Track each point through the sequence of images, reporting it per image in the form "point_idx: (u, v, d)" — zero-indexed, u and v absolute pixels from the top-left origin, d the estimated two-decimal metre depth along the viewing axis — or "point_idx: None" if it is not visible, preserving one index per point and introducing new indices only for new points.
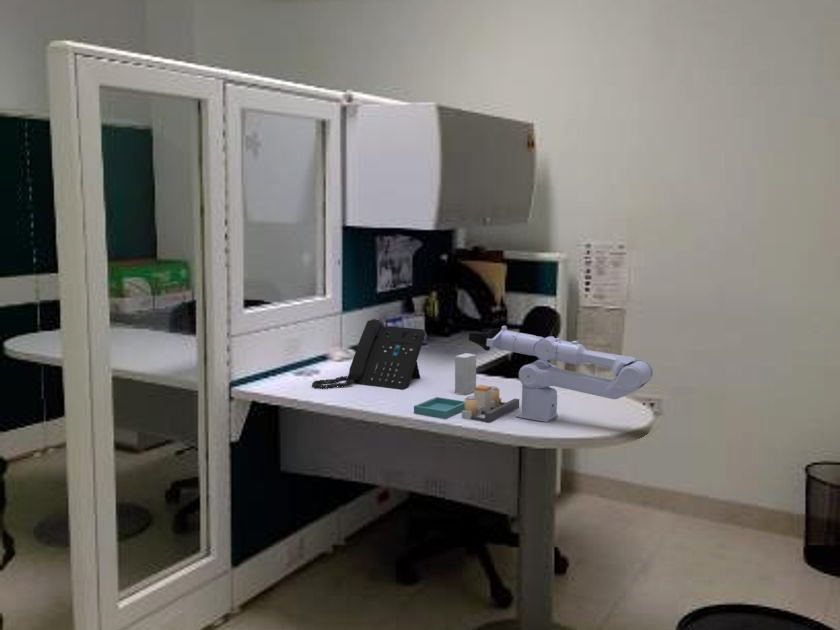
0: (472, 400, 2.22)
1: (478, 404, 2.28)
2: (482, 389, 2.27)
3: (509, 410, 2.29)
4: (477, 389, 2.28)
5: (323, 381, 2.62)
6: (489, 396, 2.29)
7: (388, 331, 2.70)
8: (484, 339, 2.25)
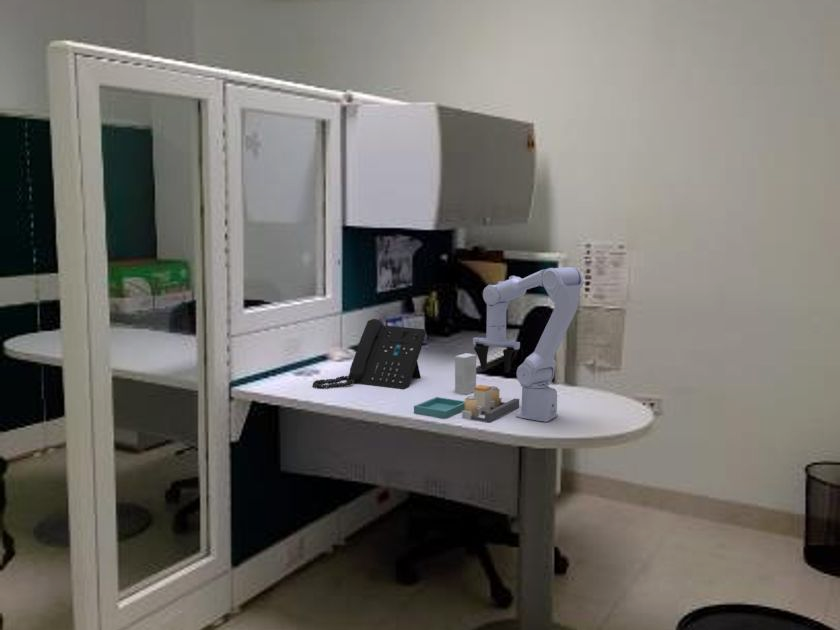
0: (472, 400, 2.22)
1: (478, 404, 2.28)
2: (482, 389, 2.27)
3: (509, 410, 2.29)
4: (477, 389, 2.28)
5: (324, 381, 2.62)
6: (489, 396, 2.29)
7: (388, 331, 2.70)
8: None
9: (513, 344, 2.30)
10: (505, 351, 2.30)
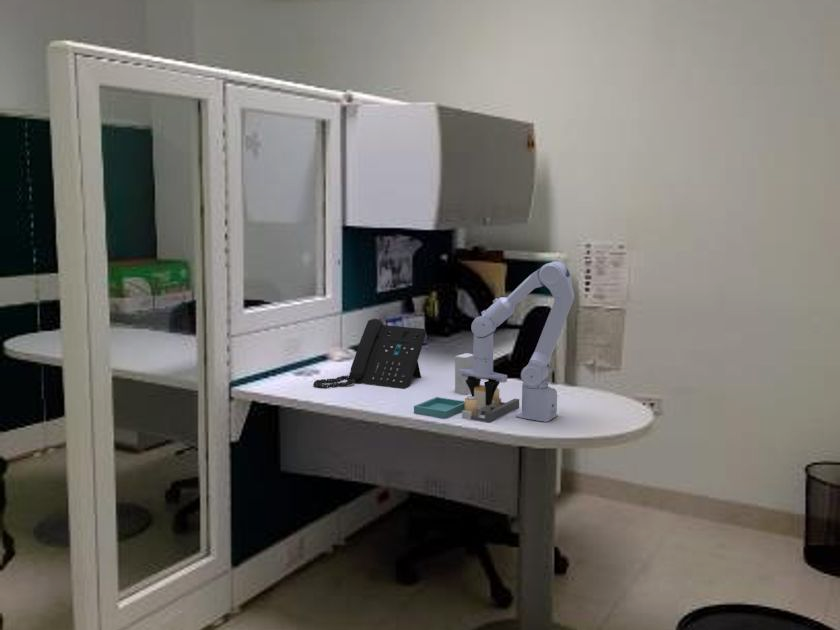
0: (472, 400, 2.22)
1: (478, 404, 2.28)
2: (482, 389, 2.27)
3: (509, 410, 2.29)
4: (477, 389, 2.28)
5: (324, 380, 2.63)
6: None
7: (389, 331, 2.71)
8: None
9: (500, 377, 2.24)
10: (486, 383, 2.25)
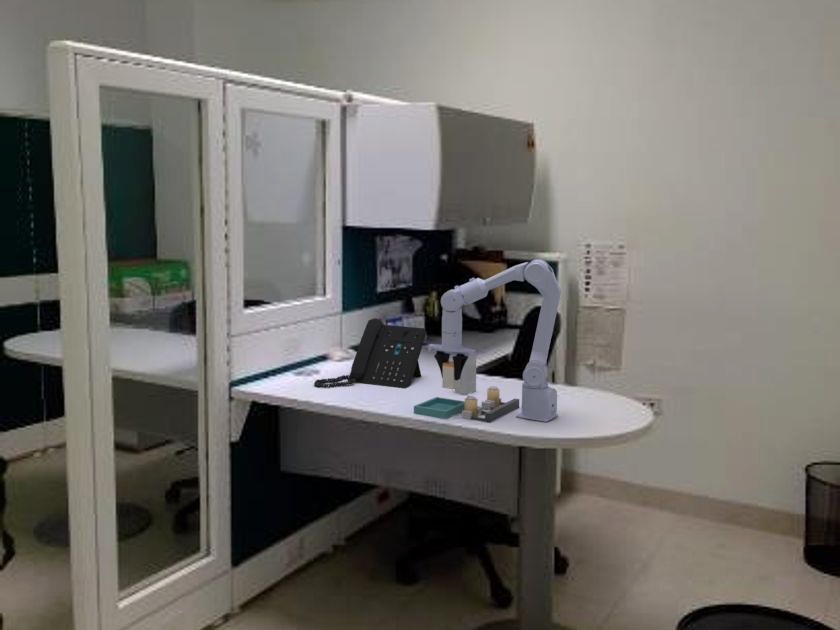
0: (472, 400, 2.22)
1: (446, 380, 2.27)
2: (450, 365, 2.26)
3: (509, 410, 2.29)
4: (445, 365, 2.27)
5: (325, 380, 2.63)
6: None
7: (389, 330, 2.71)
8: None
9: (468, 351, 2.23)
10: (455, 358, 2.24)
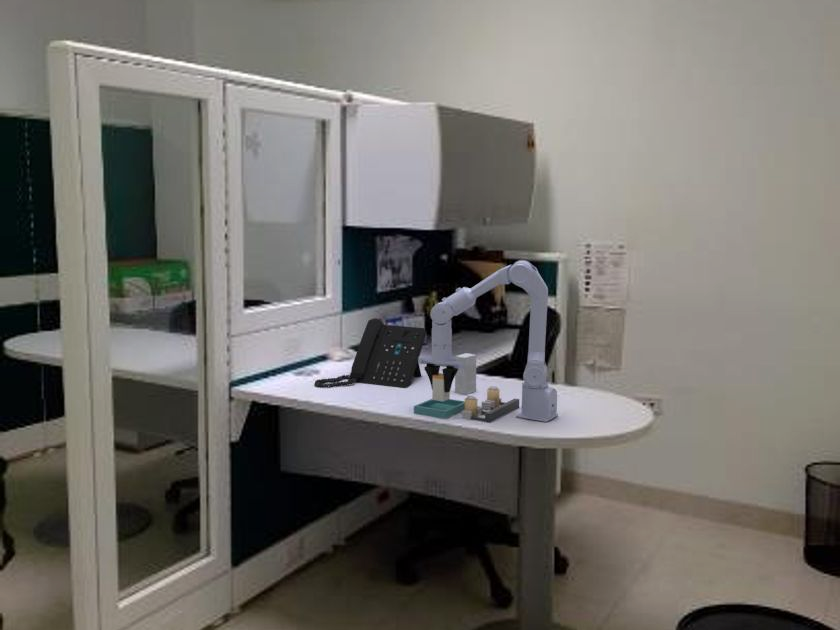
0: (472, 400, 2.22)
1: (436, 392, 2.28)
2: (440, 377, 2.26)
3: (509, 410, 2.29)
4: (435, 377, 2.27)
5: (325, 380, 2.64)
6: None
7: (389, 330, 2.72)
8: None
9: (458, 364, 2.24)
10: (444, 370, 2.24)
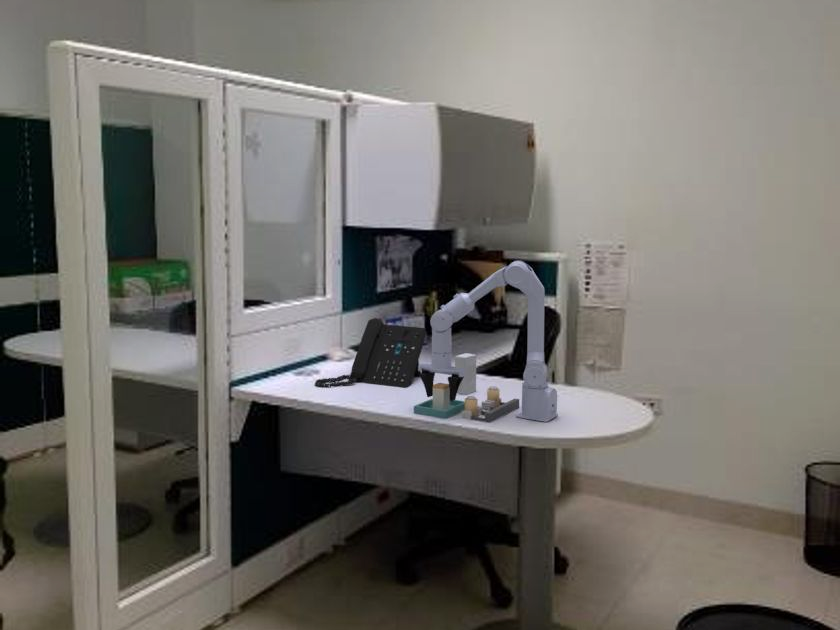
0: (472, 400, 2.22)
1: (437, 402, 2.28)
2: (440, 387, 2.27)
3: (509, 410, 2.29)
4: (436, 387, 2.28)
5: (326, 380, 2.64)
6: (448, 394, 2.29)
7: (389, 330, 2.72)
8: None
9: (458, 371, 2.24)
10: (450, 379, 2.24)
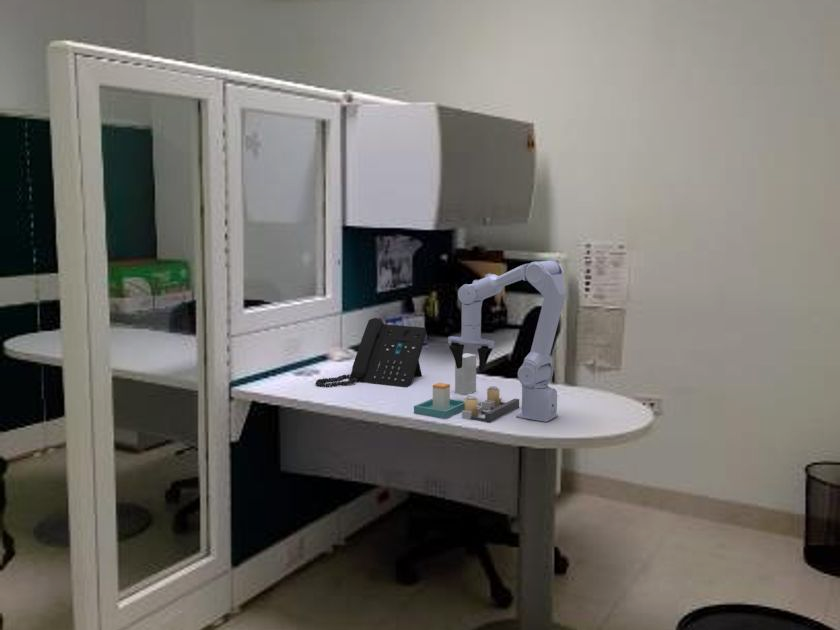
0: (472, 400, 2.22)
1: (437, 402, 2.28)
2: (440, 387, 2.27)
3: (509, 410, 2.29)
4: (436, 387, 2.28)
5: (326, 379, 2.64)
6: (448, 394, 2.29)
7: (389, 330, 2.73)
8: None
9: (487, 343, 2.32)
10: (480, 350, 2.31)
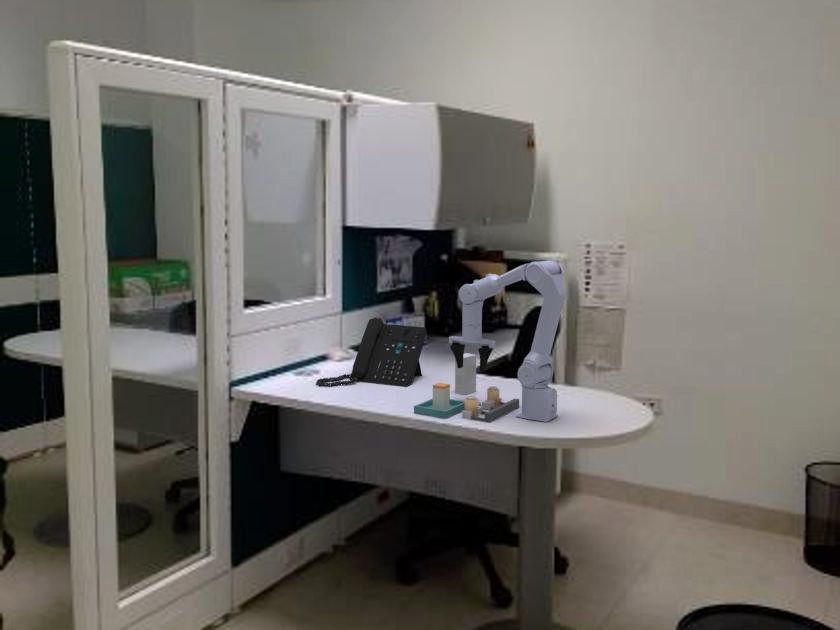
0: (472, 400, 2.22)
1: (437, 402, 2.28)
2: (440, 387, 2.27)
3: (509, 410, 2.29)
4: (436, 387, 2.28)
5: (327, 379, 2.65)
6: (448, 394, 2.29)
7: (390, 330, 2.73)
8: None
9: (488, 343, 2.32)
10: (480, 350, 2.32)
